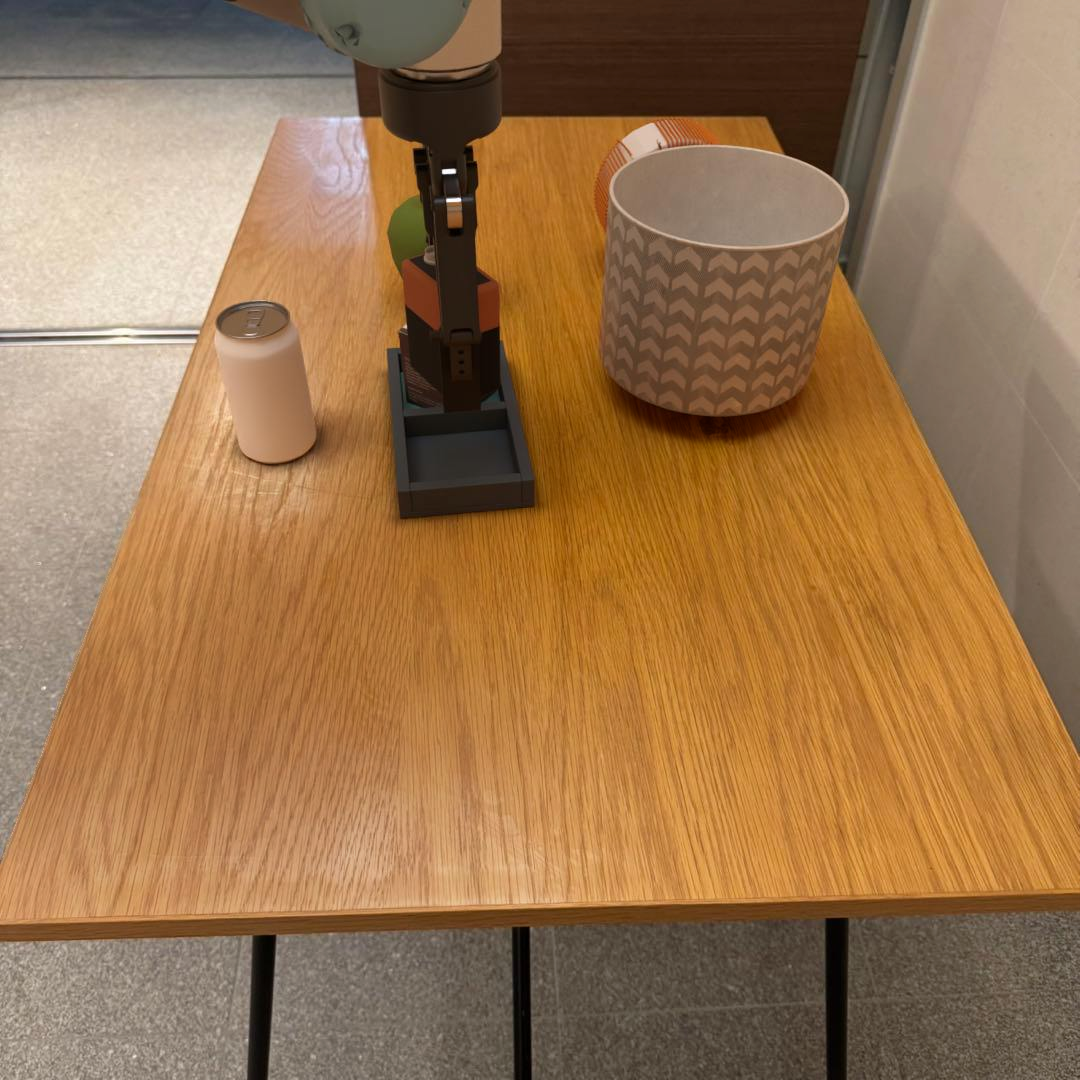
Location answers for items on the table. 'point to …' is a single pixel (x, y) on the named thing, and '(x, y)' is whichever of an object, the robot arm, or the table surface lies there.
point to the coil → (646, 151)
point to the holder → (459, 451)
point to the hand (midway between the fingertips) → (456, 376)
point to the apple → (407, 232)
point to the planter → (717, 276)
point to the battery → (426, 318)
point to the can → (265, 381)
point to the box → (418, 379)
